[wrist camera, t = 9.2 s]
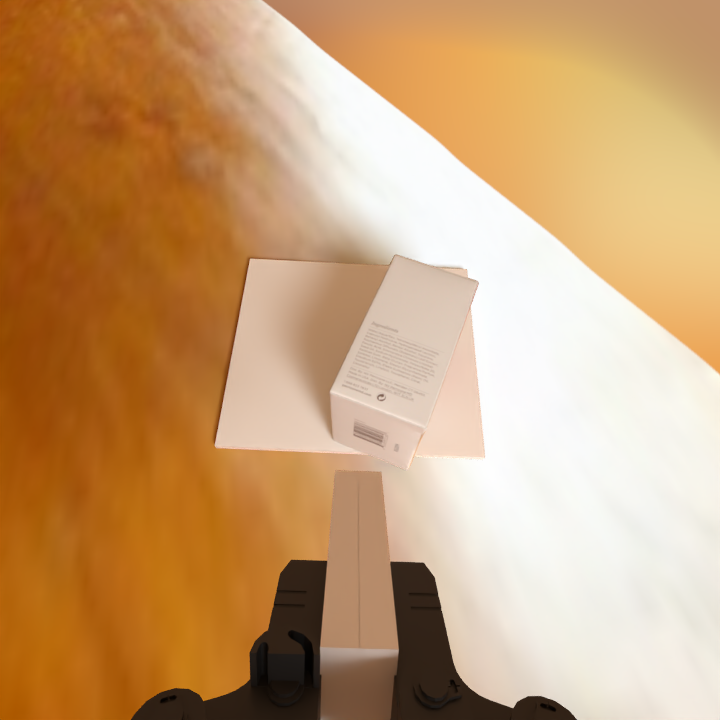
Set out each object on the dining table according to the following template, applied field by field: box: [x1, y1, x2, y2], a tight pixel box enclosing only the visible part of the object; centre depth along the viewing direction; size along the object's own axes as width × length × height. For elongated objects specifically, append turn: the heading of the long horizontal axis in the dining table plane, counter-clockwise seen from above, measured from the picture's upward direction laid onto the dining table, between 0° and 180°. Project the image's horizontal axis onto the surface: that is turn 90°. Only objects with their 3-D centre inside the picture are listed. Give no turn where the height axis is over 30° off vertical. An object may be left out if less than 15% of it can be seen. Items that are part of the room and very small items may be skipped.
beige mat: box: [215, 259, 485, 460], centre depth 35 cm, size 16×18×1 cm
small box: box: [329, 255, 479, 470], centre depth 30 cm, size 8×6×10 cm
